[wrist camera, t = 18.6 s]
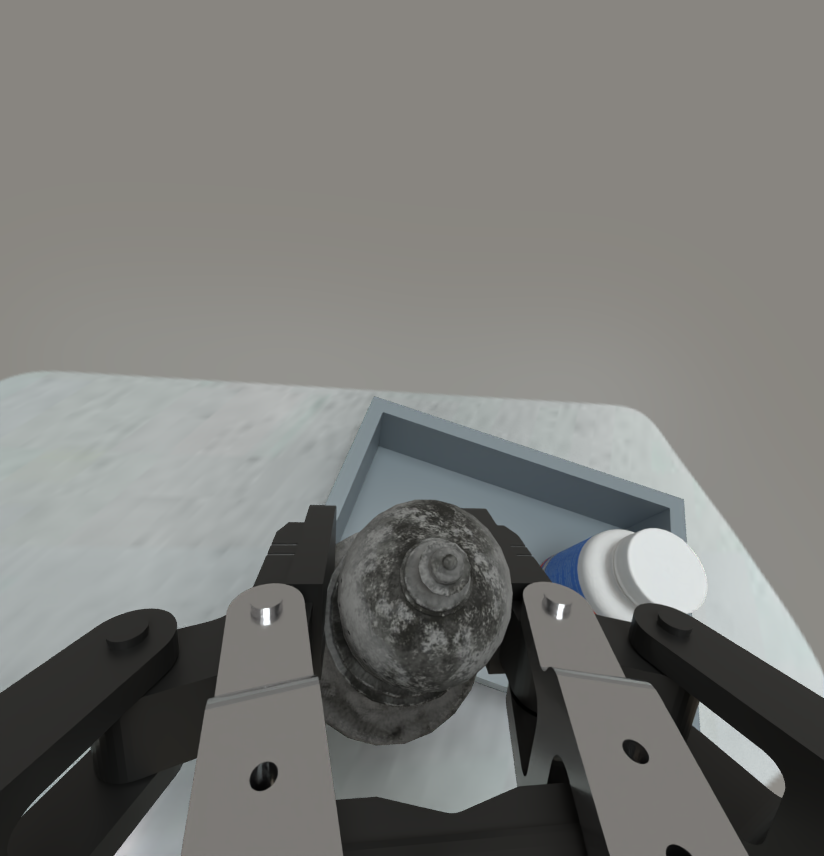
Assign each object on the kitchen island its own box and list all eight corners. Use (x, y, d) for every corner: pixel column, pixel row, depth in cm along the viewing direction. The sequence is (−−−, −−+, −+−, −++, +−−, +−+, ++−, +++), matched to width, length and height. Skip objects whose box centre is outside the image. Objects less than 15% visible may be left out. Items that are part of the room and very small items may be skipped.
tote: (294, 616, 25) (279, 605, 20) (370, 437, 32) (374, 396, 27) (628, 737, 24) (702, 757, 19) (629, 525, 31) (683, 499, 26)
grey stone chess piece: (270, 685, 14) (35, 751, 3) (344, 529, 17) (337, 319, 6) (428, 757, 13) (698, 1080, 3) (475, 584, 16) (686, 452, 6)
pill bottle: (532, 634, 26) (619, 623, 17) (528, 550, 28) (602, 505, 20) (613, 645, 26) (737, 639, 18) (601, 561, 29) (704, 521, 20)
